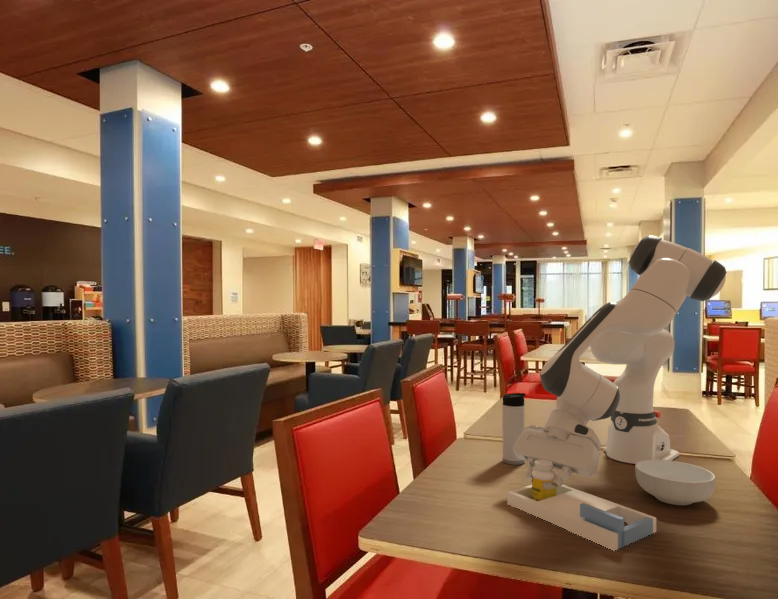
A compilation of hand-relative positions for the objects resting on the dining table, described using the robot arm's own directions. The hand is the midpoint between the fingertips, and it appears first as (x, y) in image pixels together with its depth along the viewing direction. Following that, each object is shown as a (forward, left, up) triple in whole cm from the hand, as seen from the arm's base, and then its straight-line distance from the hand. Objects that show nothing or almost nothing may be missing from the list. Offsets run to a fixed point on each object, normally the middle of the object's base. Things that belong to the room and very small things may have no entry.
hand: (542, 481), depth 121 cm
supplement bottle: (-1, 0, -6) cm, 6 cm away
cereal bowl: (-29, +15, -6) cm, 33 cm away
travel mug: (-19, -26, -6) cm, 33 cm away
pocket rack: (-1, +9, -5) cm, 10 cm away
